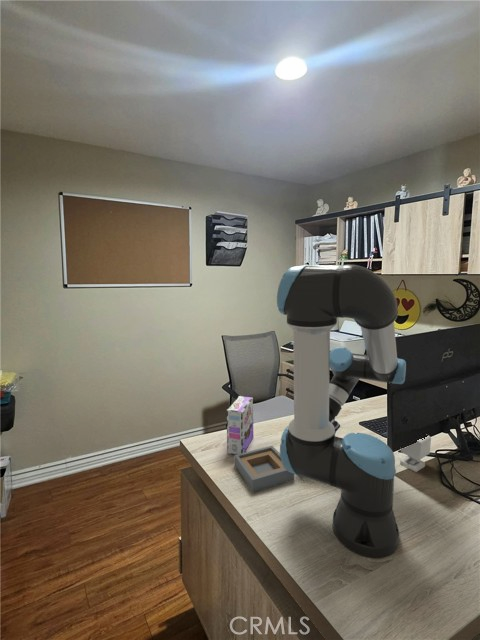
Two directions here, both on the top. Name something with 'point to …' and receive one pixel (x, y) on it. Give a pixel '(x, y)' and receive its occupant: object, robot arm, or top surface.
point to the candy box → (239, 425)
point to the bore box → (262, 468)
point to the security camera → (416, 454)
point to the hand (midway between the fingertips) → (295, 461)
